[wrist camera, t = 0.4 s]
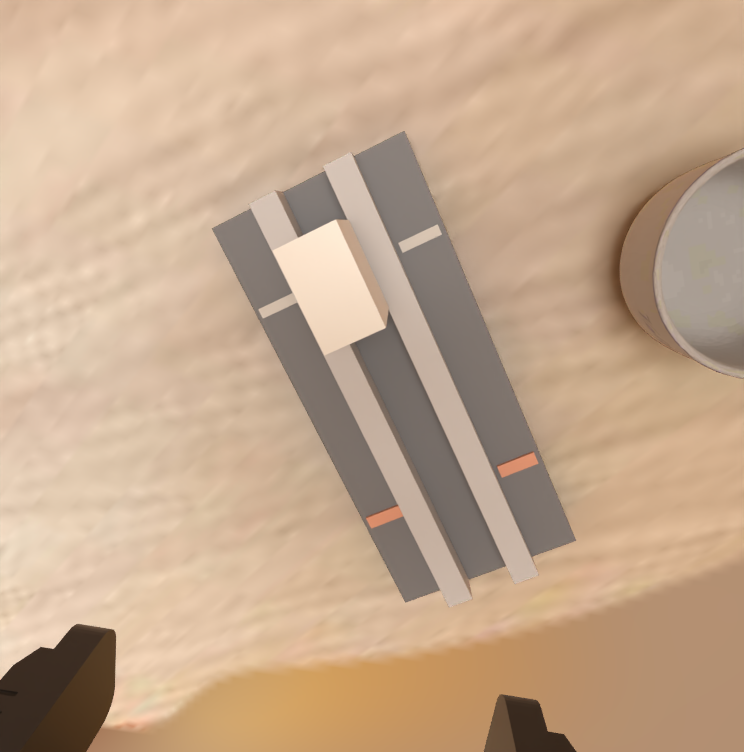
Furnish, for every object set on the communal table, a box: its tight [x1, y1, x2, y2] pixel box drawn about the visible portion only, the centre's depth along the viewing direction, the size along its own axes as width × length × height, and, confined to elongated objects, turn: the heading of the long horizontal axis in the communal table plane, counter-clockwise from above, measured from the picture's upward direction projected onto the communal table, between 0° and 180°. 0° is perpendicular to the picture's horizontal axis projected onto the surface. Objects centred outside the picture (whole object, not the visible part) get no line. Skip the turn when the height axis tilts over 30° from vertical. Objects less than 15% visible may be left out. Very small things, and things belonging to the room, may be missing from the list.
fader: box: [272, 219, 389, 356], centre depth 28 cm, size 3×5×8 cm, turn 25°
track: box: [212, 131, 576, 607], centre depth 34 cm, size 12×27×4 cm, turn 25°
